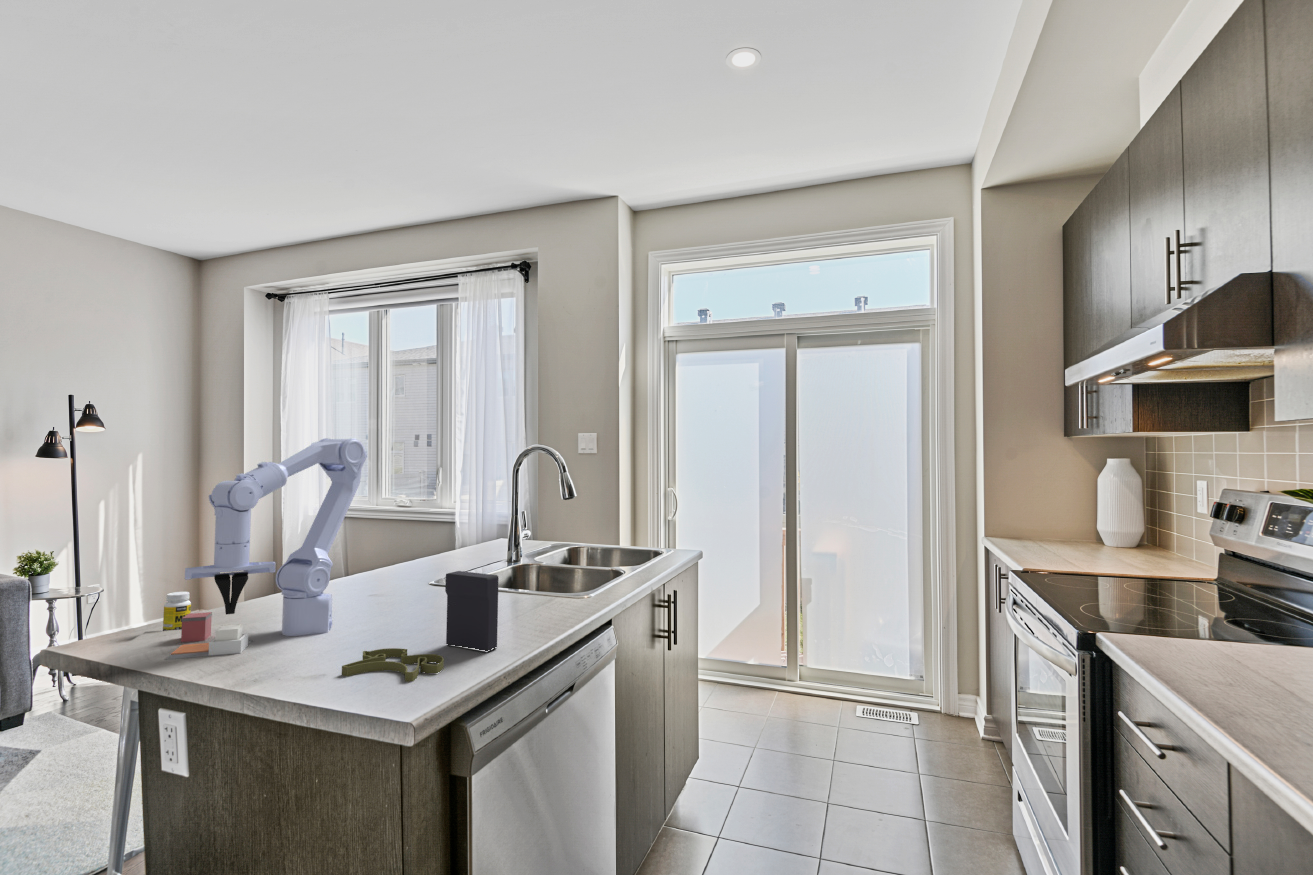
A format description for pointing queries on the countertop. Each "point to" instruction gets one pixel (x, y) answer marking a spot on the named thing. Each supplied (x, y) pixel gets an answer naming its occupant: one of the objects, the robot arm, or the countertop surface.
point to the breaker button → (229, 632)
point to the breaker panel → (211, 648)
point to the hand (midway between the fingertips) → (229, 613)
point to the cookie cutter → (394, 663)
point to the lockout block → (196, 627)
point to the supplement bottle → (176, 610)
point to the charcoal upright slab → (472, 610)
